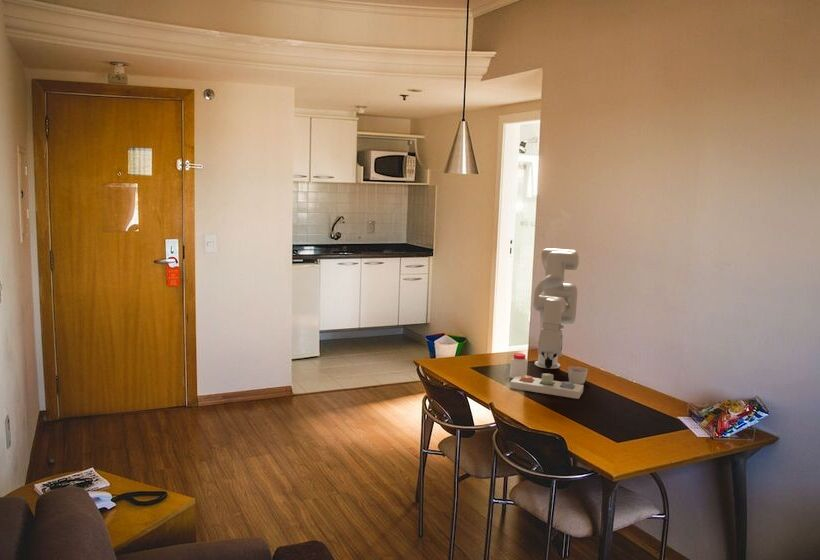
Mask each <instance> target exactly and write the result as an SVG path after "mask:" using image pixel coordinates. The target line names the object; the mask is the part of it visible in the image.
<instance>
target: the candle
mask: <svg viewBox="0 0 820 560" xmlns="http://www.w3.org/2000/svg"><path fill="white" fill-rule="evenodd" d="M588 371H589V370H588V368H586V367H583V366H577V365H575V366H571V365H570V366H568V367H567V374H568V376H567V377H568V382H572V383H574V384H580V385H584V384H585V382H586V378H587V374H588Z"/></svg>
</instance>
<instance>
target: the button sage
mask: <svg viewBox="0 0 820 560" xmlns="http://www.w3.org/2000/svg"><path fill="white" fill-rule="evenodd" d="M541 379H542V381H541V384H543V385H553V381H554V374H553V373H552V374H551V373H541Z"/></svg>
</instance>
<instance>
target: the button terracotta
mask: <svg viewBox="0 0 820 560" xmlns="http://www.w3.org/2000/svg"><path fill="white" fill-rule="evenodd" d="M521 381H523V382H530V383H533V376H532V375H524V376H522V377H521Z"/></svg>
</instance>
